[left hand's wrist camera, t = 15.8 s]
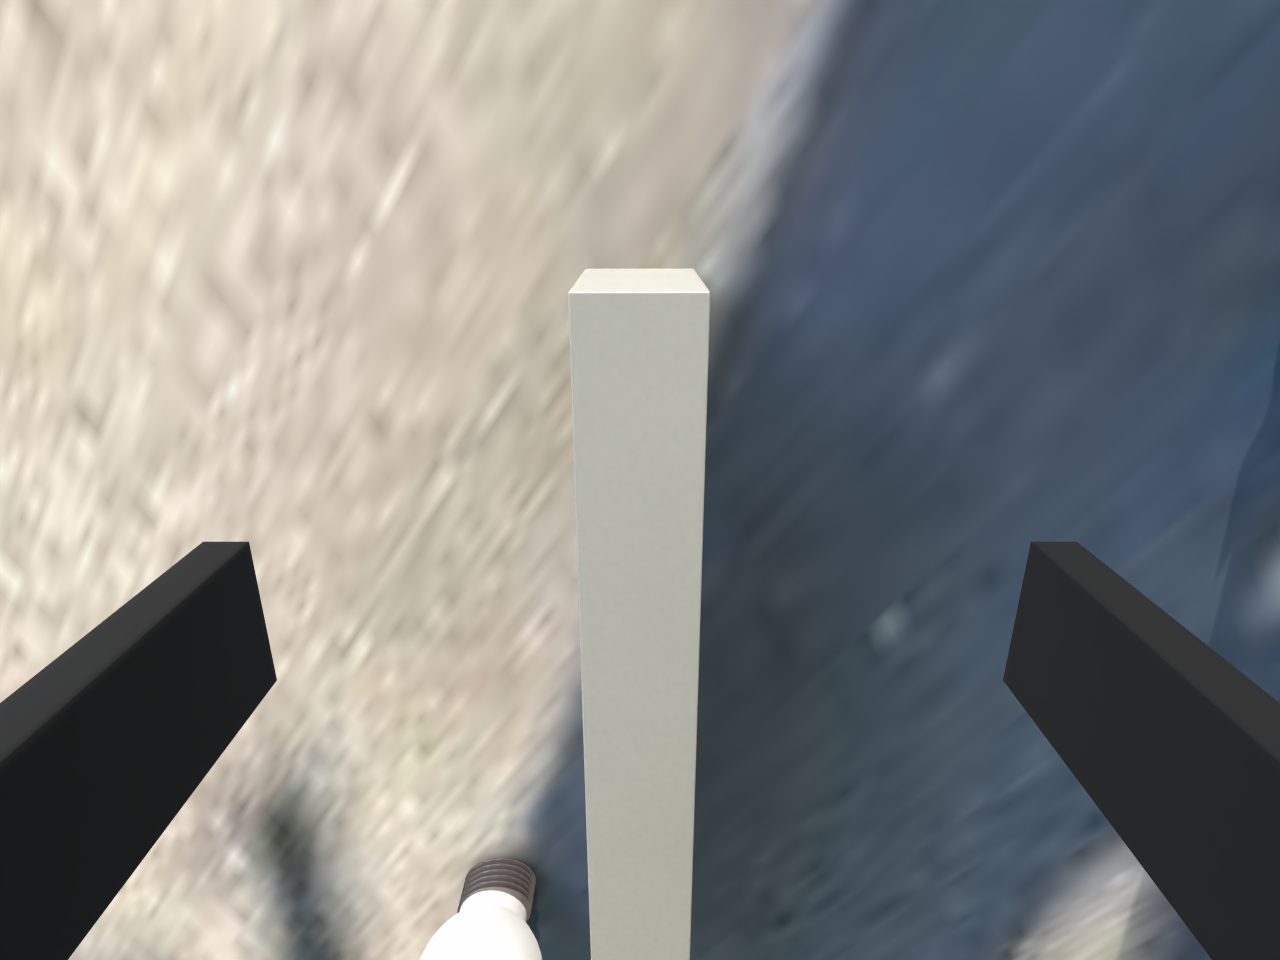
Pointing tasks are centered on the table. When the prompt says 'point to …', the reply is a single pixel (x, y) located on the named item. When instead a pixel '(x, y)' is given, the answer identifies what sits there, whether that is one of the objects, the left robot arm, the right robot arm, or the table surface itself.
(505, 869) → the light bulb
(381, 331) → the table surface
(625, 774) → the bar
